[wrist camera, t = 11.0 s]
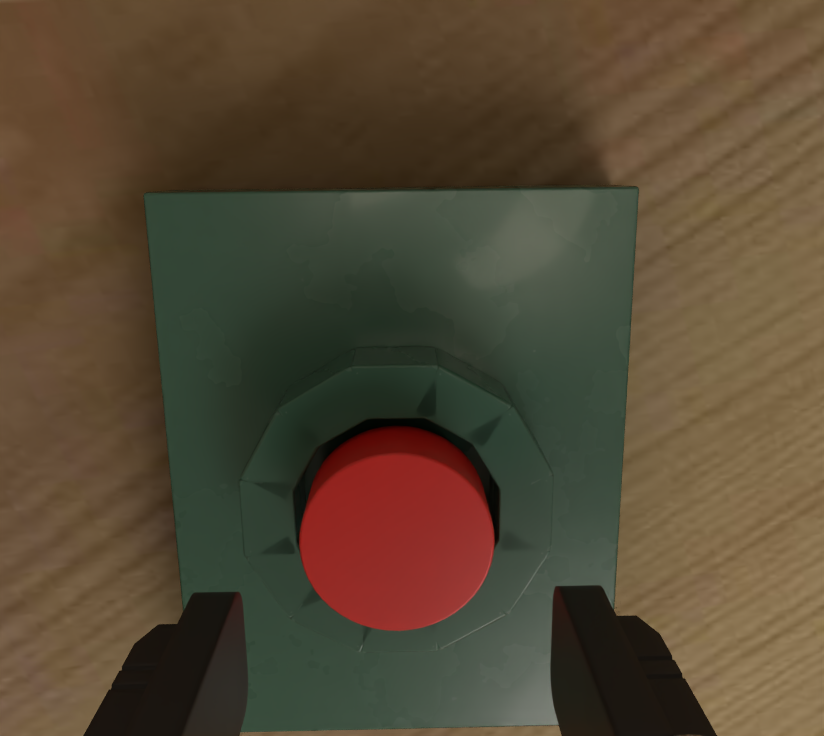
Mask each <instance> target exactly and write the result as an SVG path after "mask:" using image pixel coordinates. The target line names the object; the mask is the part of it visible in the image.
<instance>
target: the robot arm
mask: <svg viewBox="0 0 824 736" xmlns="http://www.w3.org/2000/svg"><path fill="white" fill-rule="evenodd" d="M550 679H551V692H552V699H553V705H554V710H555V714H556V717H557V720H558V724H559V727H560V731H561V734H562V736H717V735H716V733H715V731H714V730H713V728H712V726H711V724H710V722H709V721H708V719H707V717H706V715H705V714H704V712H703V710H702V708H701V706H700V705H699V703H698V701H697V699H696V698H695V696H694V694H693V692H692V690H691V689H690V687H689V685H688V683H687V682H686V680H685V678H682V673H681V671H680V669H679V667H678V666H677V664H676V662H675V660H672V655H671V653H670V651H669V650H668V648H667V646H666V644H665V642H664V641H663V639H662V637H661V635H660V634H659V633H658V632H657V631H655V630H654V629H653V628H651V627H650V626H649V625H648V624H646V623H645V622H644V621H643V620H641V619H640V618H639V617H637V616H616V614H615V612H614V609H613V607H612V605H611V603H610V601H609V599H608V597H607V595H606V593H605V591H604V589H603V587H602V586H600V585H584V586H556V587H555V589H554V593H553V608H552V636H551V663H550ZM247 698H248V666H247V653H246V639H245V626H244V612H243V602H242V597H241V594H240V592H195V593H193V594H192V595H191V597H190V599H189V601H188V603H187V605H186V607H185V609H184V611H183V613H182V615H181V617H180V620H179V622H178V624H160V625H157V626H156V627H155V628H153V629H152V630H151V631H150V632H149V633H147V634H146V635H145V636H144V637H142V638H141V639H140V640H139V641H138V642H136V643H135V644H134V646H133V648H132V649H131V651H130V653H129V655H128V657H127V658H126V660H125V662H124V664H123V666H122V671H119V673H118V675H117V676H116V678H115V680H114V682H113V683H112V688H111V690H109V691H108V692H107V694H106V696H105V698H104V700H103V701H102V703H101V705H100V707H99V709H98V710H97V712H96V714H95V716H94V718H93V719H92V721H91V723H90V725H89V727H88V728H87V730H86V732H85V734H84V735H83V736H239V735H240V731H241V728H242V724H243V721H244V717H245V712H246V707H247Z"/></svg>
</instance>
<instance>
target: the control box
mask: <svg viewBox="0 0 824 736" xmlns="http://www.w3.org/2000/svg"><path fill="white" fill-rule="evenodd" d="M638 196H639V188H638V187H636V186H624V185H541V186H462V187H383V188H303V189H224V190H169V191H157V192H146V193H144V207H145V217H146V228H147V238H148V248H149V259H150V269H151V280H152V290H153V301H154V311H155V322H156V332H157V343H158V353H159V364H160V374H161V385H162V395H163V406H164V416H165V426H166V437H167V447H168V458H169V468H170V479H171V489H172V500H173V510H174V521H175V531H176V542H177V552H178V563H179V573H180V584H181V594H182V604H183V611H184V609H185V607H186V605H187V603H188V601H189V599H190V597H191V595H192V594H193V593H195V592H240V594H241V597H242V602H243V612H244V626H245V639H246V653H247V666H248V698H247V707H246V712H245V717H244V721H243V724H242V728H241V731H240V732H272V731H318V730H365V729H411V728H458V727H504V726H550V725H559V724H558V720H557V717H556V714H555V710H554V705H553V699H552V692H551V679H550V663H551V636H552V608H553V593H554V589H555V587H556V586H584V585H600V586H602V587H603V589H604V591H605V593H606V595H607V597H608V599H609V601H610V603H611V605H612V607H613V609H614V602H615V585H616V568H617V551H618V534H619V517H620V501H621V484H622V467H623V450H624V433H625V416H626V399H627V382H628V365H629V348H630V331H631V314H632V297H633V280H634V264H635V247H636V230H637V213H638ZM386 426H409V427H415V428H420V429H423V430H427V431H430V432H432V433H435V434H437V435H439V436H441V437H443V438H445V439H446V440H448V441H449V442H451V443H452V444H454V445H455V446H456V447H457V448H459V449H460V450H461V451H462V452H463V453H464V454H465V455H466V457H467V458H468V459H469V460H470V462H471V463H472V464H473V466H474V467H475V469H476V471H477V473H478V475H479V477H480V480H481V482H482V485H483V488H484V492H485V496H486V500H487V503H488V507H489V511H490V515H491V518H492V523H493V528H494V540H495V543H494V554H493V558H492V563H491V566H490V569H489V571H488V574H487V576H486V578H485V580H484V582H483V584H482V585H481V587H480V588H479V590H478V591H477V592H476V594H475V595H474V596H473V597H472V598H471V599H470V601H469V602H468V603H467V604H466V605H464V606H463V607H462V608H461V609H459V610H458V611H457V612H456V613H454V614H452V615H451V616H449V617H448V618H446V619H444V620H442V621H439V622H437V623H435V624H432V625H429V626H426V627H423V628H418V629H413V630H403V631H390V630H381V629H374V628H371V627H367V626H364V625H361V624H358V623H356V622H353V621H351V620H349V619H347V618H346V617H344V616H342V615H340V614H339V613H338V612H336V611H335V610H334V609H332V608H331V607H330V606H329V605H328V604H327V603H326V602H325V601H324V600H323V599H322V598H321V597H320V596H319V595H318V593H317V592H316V591H315V590H314V588H313V586H312V585H311V583H310V581H309V580H308V577H307V575H306V573H305V570H304V568H303V564H302V560H301V556H300V548H299V534H300V528H301V522H302V518H303V515H304V511H305V507H306V504H307V500H308V497H309V493H310V489H311V486H312V483H313V480H314V478H315V476H316V474H317V472H318V470H319V468H320V467H321V465H322V464H323V462H324V461H325V459H326V458H327V457H328V456H329V455H330V454H331V453H332V452H333V451H334V450H335V449H336V448H337V447H338V446H339V445H341V444H342V443H344V442H345V441H347V440H348V439H350V438H352V437H354V436H356V435H358V434H360V433H362V432H365V431H368V430H371V429H375V428H380V427H386Z"/></svg>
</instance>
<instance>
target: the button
mask: <svg viewBox="0 0 824 736" xmlns="http://www.w3.org/2000/svg"><path fill="white" fill-rule="evenodd" d="M494 543H495V540H494V528H493V523H492V518H491V515H490V511H489V507H488V503H487V500H486V496H485V492H484V488H483V485H482V482H481V480H480V477H479V475H478V473H477V471H476V469H475V467H474V466H473V464H472V463H471V462H470V460H469V459H468V458H467V457H466V455H465V454H464V453H463V452H462V451H461V450H460V449H459V448H457V447H456V446H455V445H454V444H452V443H451V442H449V441H448V440H446V439H445V438H443V437H441V436H439V435H437V434H435V433H432V432H430V431H427V430H423V429H420V428H415V427H409V426H386V427H380V428H375V429H371V430H368V431H365V432H362V433H360V434H358V435H356V436H354V437H352V438H350V439H348V440H347V441H345V442H344V443H342V444H341V445H339V446H338V447H337V448H336V449H335V450H334V451H333V452H332V453H331V454H330V455H329V456H328V457H327V458H326V459H325V461H324V462H323V464H322V465H321V467H320V468H319V470H318V472H317V474H316V476H315V478H314V480H313V483H312V486H311V489H310V493H309V497H308V500H307V504H306V507H305V511H304V515H303V518H302V522H301V528H300V534H299V548H300V556H301V560H302V564H303V568H304V570H305V573H306V575H307V577H308V580H309V581H310V583H311V585H312V586H313V588H314V590H315V591H316V592H317V593H318V595H319V596H320V597H321V598H322V599H323V600H324V601H325V602H326V603H327V604H328V605H329V606H330V607H331V608H332V609H334V610H335V611H336V612H338V613H339V614H340V615H342V616H344V617H346V618H347V619H349V620H351V621H353V622H356V623H358V624H361V625H364V626H367V627H371V628H374V629H381V630H390V631H403V630H413V629H418V628H423V627H426V626H429V625H432V624H435V623H437V622H439V621H442V620H444V619H446V618H448V617H449V616H451V615H452V614H454V613H456V612H457V611H458V610H459V609H461V608H462V607H463V606H464V605H466V604H467V603H468V602H469V601H470V599H471V598H472V597H473V596H474V595H475V594H476V592H477V591H478V590H479V588H480V587H481V585H482V584H483V582H484V580H485V578H486V576H487V574H488V571H489V569H490V566H491V563H492V558H493V554H494Z"/></svg>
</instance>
